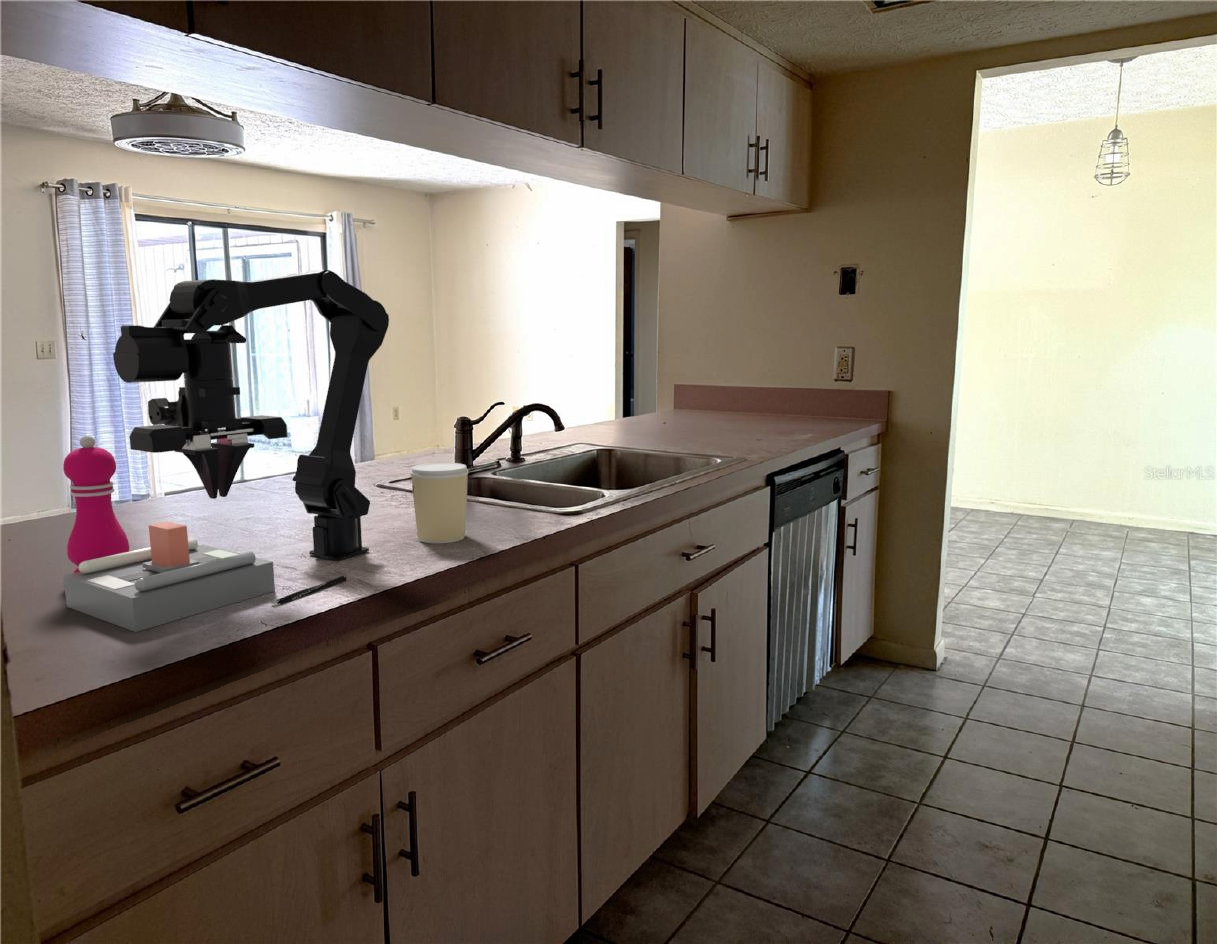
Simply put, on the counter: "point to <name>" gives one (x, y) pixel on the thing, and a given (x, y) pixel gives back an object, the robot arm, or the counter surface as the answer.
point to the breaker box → (165, 586)
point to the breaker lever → (168, 547)
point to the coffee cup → (440, 501)
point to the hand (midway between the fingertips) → (218, 497)
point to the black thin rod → (308, 591)
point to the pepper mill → (93, 504)
